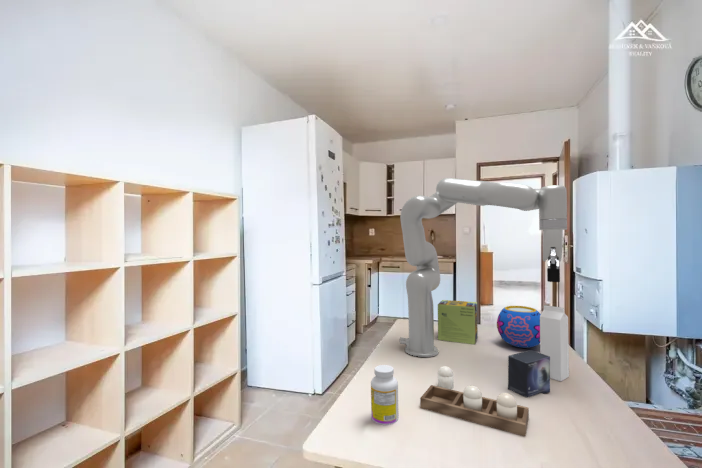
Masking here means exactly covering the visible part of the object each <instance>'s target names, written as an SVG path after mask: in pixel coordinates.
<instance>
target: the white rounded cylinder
mask: <svg viewBox="0 0 702 468" xmlns="http://www.w3.org/2000/svg"><path fill="white" fill-rule="evenodd" d="M454 379H455V378H454V371H453V369H452V368H451V367H449V366H447V365H443V366H441V367H439V369H438V372H437V386H438V387H442V388H446V389H451V390H454V387H455V386H454V383H455V382H454Z"/></svg>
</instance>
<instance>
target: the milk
mask: <svg viewBox="0 0 702 468" xmlns="http://www.w3.org/2000/svg"><path fill="white" fill-rule="evenodd" d="M540 314H541V315H540V344H539V347H540V348H539V349H540V352H539V353H541V354H544V355H547V356H550V380H551V379H552V380H555V381H557V382H563V381H565V380H566V379H567V378H569V376H570V360H569V359H570V356H569V355H570V352H569V351H570V350H569V347H570V346H569V345H570V343H569V316H568V315H567V314H566V313H565V309H564V307H561V306H560V307H559V306H553V305H546V304H544V305H543V310H542V312H541V313H540Z"/></svg>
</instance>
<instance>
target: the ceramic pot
mask: <svg viewBox="0 0 702 468" xmlns="http://www.w3.org/2000/svg"><path fill="white" fill-rule="evenodd" d="M541 314H542V313H540V312H539V311H538V310H537V309H536V308H534V307H530V306H525V305H524V306H523V305H507V306H505V307H503V308H502V309H501V310H500V312H499V314H498V315H497V318H496V328H497V332H498V333H499V336H500V337H501V339H502V340H503V341H504V342H506V344H509V345H511V346H513V347H516V348H519V349H526V348H527V349H528V348H534V347H535V346H538V345H540V315H541Z"/></svg>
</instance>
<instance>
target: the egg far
mask: <svg viewBox="0 0 702 468" xmlns="http://www.w3.org/2000/svg"><path fill="white" fill-rule="evenodd" d="M496 400H497V416H499V417H503V418H507V419H511V420H515V421H517V405H518V403H517V400H516V398H515V397H514V395H512V394H511V393H510V392H509V393H508V392H502V393H500V394H498V396H497V397H496Z"/></svg>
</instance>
